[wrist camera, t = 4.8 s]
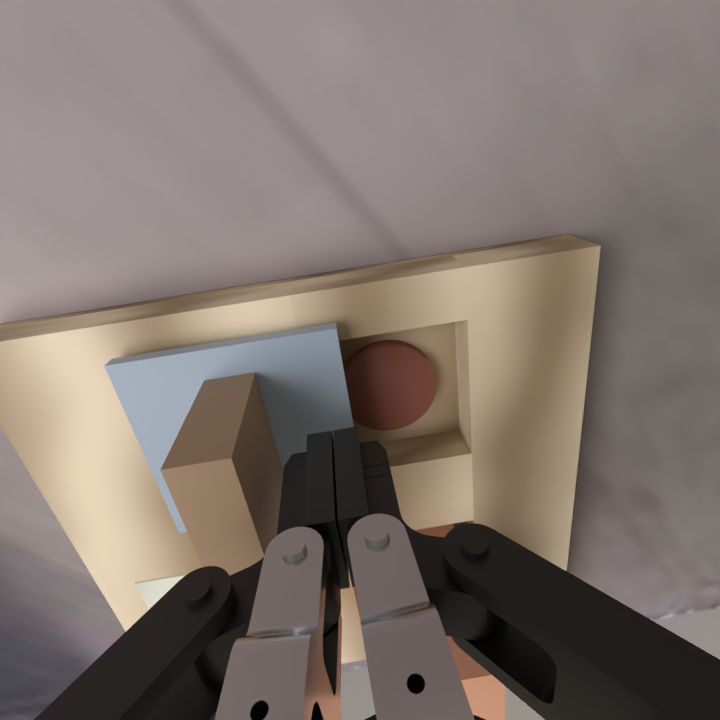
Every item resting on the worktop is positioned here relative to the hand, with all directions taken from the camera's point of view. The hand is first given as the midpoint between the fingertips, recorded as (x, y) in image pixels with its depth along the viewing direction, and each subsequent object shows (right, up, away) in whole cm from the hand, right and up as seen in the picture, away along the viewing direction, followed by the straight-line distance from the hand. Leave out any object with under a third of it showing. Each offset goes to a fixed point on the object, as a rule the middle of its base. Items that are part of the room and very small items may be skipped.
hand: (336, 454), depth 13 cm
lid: (-3, 0, +2) cm, 4 cm away
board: (-1, -3, +6) cm, 7 cm away
